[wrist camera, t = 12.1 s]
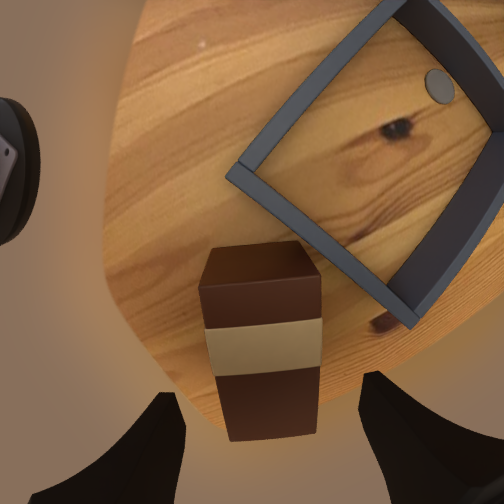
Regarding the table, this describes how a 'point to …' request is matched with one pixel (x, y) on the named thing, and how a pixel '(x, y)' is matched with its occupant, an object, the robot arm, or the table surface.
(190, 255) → the table surface
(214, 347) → the brown tan banded block
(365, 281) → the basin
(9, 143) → the robot arm
